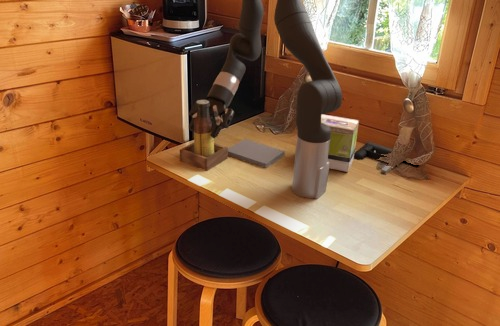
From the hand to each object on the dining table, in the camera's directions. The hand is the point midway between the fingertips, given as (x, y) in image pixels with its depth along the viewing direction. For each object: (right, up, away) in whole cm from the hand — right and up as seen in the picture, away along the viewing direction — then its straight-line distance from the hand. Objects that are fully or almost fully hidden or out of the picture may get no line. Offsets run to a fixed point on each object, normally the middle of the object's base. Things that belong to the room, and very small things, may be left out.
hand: (201, 133), depth 152 cm
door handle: (+60, -10, +11) cm, 62 cm away
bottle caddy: (0, -8, +5) cm, 10 cm away
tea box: (+41, -9, +8) cm, 43 cm away
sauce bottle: (0, -8, +6) cm, 10 cm away
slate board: (+17, -6, +11) cm, 21 cm away
